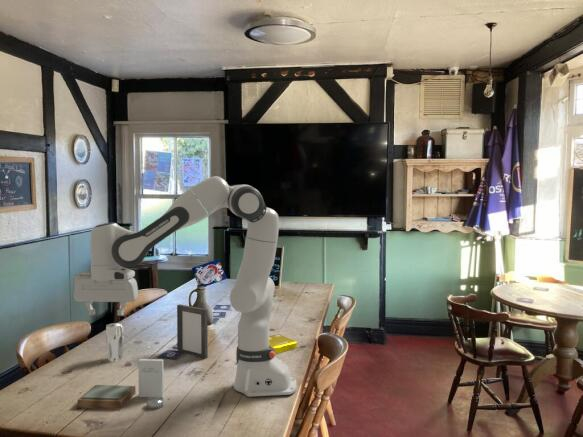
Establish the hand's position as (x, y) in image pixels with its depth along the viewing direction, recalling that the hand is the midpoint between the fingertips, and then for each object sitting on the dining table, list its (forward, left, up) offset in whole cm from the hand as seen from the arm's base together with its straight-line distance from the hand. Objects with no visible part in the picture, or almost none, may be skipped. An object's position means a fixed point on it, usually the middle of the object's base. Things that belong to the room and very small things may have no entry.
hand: (106, 315), depth 156 cm
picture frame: (-16, -44, -29) cm, 55 cm away
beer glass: (+13, -36, -29) cm, 48 cm away
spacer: (-17, +3, -29) cm, 33 cm away
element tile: (-50, -56, -29) cm, 81 cm away
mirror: (0, 0, -28) cm, 28 cm away
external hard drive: (-13, -4, -29) cm, 32 cm away
